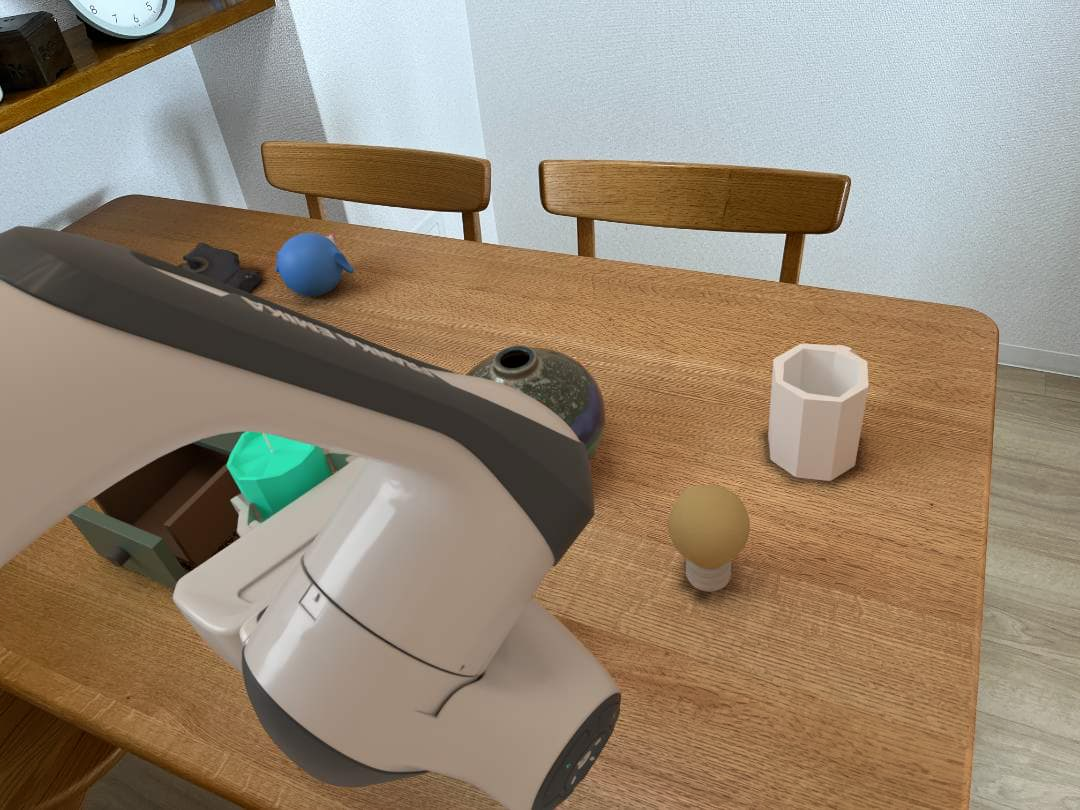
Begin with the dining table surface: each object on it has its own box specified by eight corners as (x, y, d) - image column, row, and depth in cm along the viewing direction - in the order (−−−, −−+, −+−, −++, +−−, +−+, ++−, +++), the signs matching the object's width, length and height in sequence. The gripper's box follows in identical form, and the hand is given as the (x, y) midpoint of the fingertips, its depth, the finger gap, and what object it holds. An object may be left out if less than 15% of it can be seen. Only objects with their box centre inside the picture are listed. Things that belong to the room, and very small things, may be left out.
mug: (839, 493, 74) (852, 413, 67) (751, 461, 78) (755, 383, 72) (883, 414, 80) (899, 335, 74) (800, 388, 85) (807, 312, 78)
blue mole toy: (379, 261, 117) (363, 208, 112) (347, 308, 109) (328, 254, 103) (306, 260, 120) (286, 209, 115) (269, 307, 112) (246, 254, 106)
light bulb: (739, 616, 66) (743, 538, 59) (662, 599, 68) (657, 522, 61) (752, 555, 70) (757, 476, 63) (679, 541, 72) (677, 463, 66)
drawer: (175, 604, 73) (141, 558, 69) (88, 564, 79) (51, 518, 74) (288, 485, 83) (264, 437, 79) (203, 456, 88) (177, 410, 84)
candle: (321, 505, 64) (266, 391, 56) (375, 533, 61) (326, 416, 53) (264, 559, 60) (197, 445, 53) (318, 591, 57) (257, 475, 50)
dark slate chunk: (86, 348, 110) (68, 320, 107) (194, 262, 125) (180, 235, 122) (169, 364, 104) (153, 335, 101) (272, 272, 119) (260, 244, 116)
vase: (434, 500, 80) (401, 400, 71) (496, 400, 90) (474, 301, 81) (580, 532, 74) (564, 428, 66) (629, 421, 85) (620, 318, 76)
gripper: (513, 447, 51) (388, 365, 59) (221, 667, 41) (122, 532, 50) (528, 513, 55) (408, 427, 63) (265, 727, 46) (167, 593, 54)
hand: (280, 475), depth 56 cm, fingers closed on candle, 5 cm apart
